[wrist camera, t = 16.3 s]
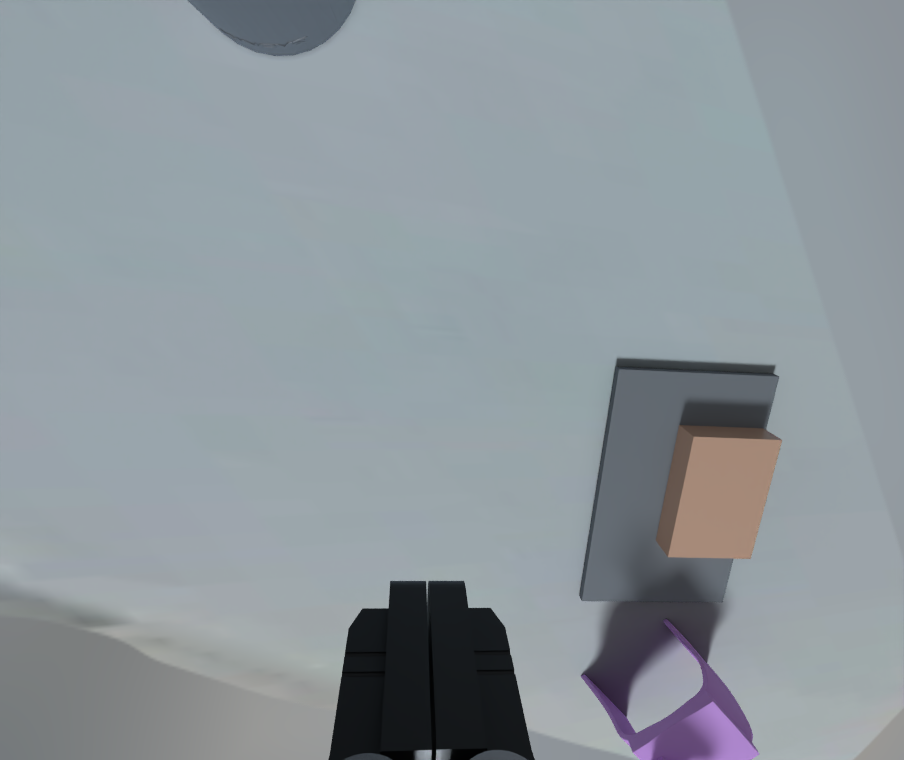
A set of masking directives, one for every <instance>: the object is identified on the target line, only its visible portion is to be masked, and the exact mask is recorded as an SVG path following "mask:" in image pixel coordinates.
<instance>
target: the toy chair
mask: <svg viewBox="0 0 904 760" xmlns="http://www.w3.org/2000/svg"><path fill="white" fill-rule="evenodd" d="M663 622H664V623H665V624H666V626H667V627H668V628H669V629H670V630H671V631H672V633H673V634H674V635H675V636H676V637H677V638H678V640H679V641H680V642H681V643H682V644H683V645H684V646H685V648H686V649H687V650H688V651H689V652H690V653H691V655H692V656H693V657H694V658H695V659H696V660H697V662H698V663H699V664H700V666H701V669H702V674H703V686H702V688H701V690H700V691H699V692H698V693H697V694H696V695H695V696H694V697H693V698H691V699H690V700H689V701H687V702H686V703H685V704H684V705H682V706H681V707H680V708H679V709H677V710H676V711H675V712H673V713H672V714H671V715H669V716H668V717H666V718H664V719H663V720H661V721H659V722H657V723H655V724H653V725H651V726H649V727H647V728H645V729H644V730H642V731H640V732H638V733H636V732H635V731H634V729H633V728H632V726H631V724H630V723H629V721H628V719H627V718H626V716H625V715H624V714H623V713H622V712H621V711H620V710H619V709H618V708H617V707H616V706H615V705H614V704H613V703H612V702H611V701H610V700H609V699H608V698H607V697H606V696H605V694H604V693H603V692H602V691H601V690H600V689H599V688H598V687H597V686H596V685H595V684H594V683H593V682H592V681H591V680H590V679H589V678H588V677H587V676H586V675H585V674H584V675H582V676H581V677H582V679H583V680H584V681H585V683H586V684H587V685H588V686H589V688H590V689H591V690H592V692H593V693H594V694H595V696H596V697H597V698H598V700H599V701H600V702H601V704H602V705H603V707H604V708H605V710H606V711H607V713H608V715H609V716H610V718H611V720H612V722H613V724H614V726H615V729H616V731H617V733H618V734H619V736H620V737H621V738H622V739H623V740H624V741H625V742H626V743H627V744H628V745H629V746H630V747H631V749H632V752H633V753H634V754H635V755H636V756H637V757H638V758H639V759H640V760H751V759H753V758H754V757H756V756H758V755H759V753H758V751H757V749H756V748H755V746H754V745H753V743H752V739H753V734H752V730H751V727H750V725H749V723H748V721H747V719H746V717H745V715H744V713H743V711H742V710H741V708H740V706H739V704H738V703H737V701H736V700H735V698H734V696H733V695H732V694H731V692H730V691H729V689H728V688H727V686H726V685H725V684H724V683H723V682H722V680H721V679H720V678H719V677H718V676H717V674H716V673H715V672H714V671H713V670H712V669H711V667H710V666H709V665H708V664H707V663H706V662H705V660H704V659H703V658H702V657H701V656H700V654H699V653H698V652H697V651H696V650H695V649H694V648H693V646H692V645H691V644H690V643H689V642H688V641H687V640H686V639H685V637H684V636H683V635H682V634H681V633H680V632H679V631H678V630H677V629H676V628H675V627H674V626H673V625H672V624H671V623H670V622H669V621H668V620H667V619H665V620H664V621H663Z"/></svg>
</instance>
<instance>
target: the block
mask: <svg viewBox="0 0 904 760" xmlns="http://www.w3.org/2000/svg"><path fill="white" fill-rule="evenodd" d="M781 442H782V440H781V439H780V438H778V437H776V436H775V435H773V434H771V433H770V432H768V431H767V430H765V429H763V428H741V427H716V426H691V425H679V429H678V434H677V438H676V443H675V448H674V453H673V458H672V463H671V468H670V473H669V478H668V483H667V487H666V492H665V497H664V502H663V507H662V512H661V517H660V522H659V527H658V532H657V537H656V542H657V543H658V544H659V546H660V547H661V548H662V550H663V551H664V552H665V554H666V555H667V557H682V558H734V559H751V555H752V552H753V548H754V544H755V540H756V537H757V533H758V529H759V525H760V521H761V518H762V514H763V510H764V506H765V503H766V499H767V495H768V491H769V488H770V484H771V480H772V476H773V472H774V469H775V465H776V461H777V457H778V454H779V450H780V446H781Z"/></svg>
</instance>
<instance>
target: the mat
mask: <svg viewBox="0 0 904 760" xmlns="http://www.w3.org/2000/svg"><path fill="white" fill-rule="evenodd" d="M778 379H779V376H777V375H775V374H761V373H740V372H718V371H696V370H674V369H652V368H631V367H616V369H615V375H614V381H613V387H612V394H611V400H610V406H609V413H608V419H607V425H606V432H605V438H604V444H603V450H602V457H601V463H600V469H599V476H598V482H597V488H596V495H595V501H594V507H593V513H592V520H591V526H590V532H589V539H588V545H587V551H586V558H585V564H584V570H583V577H582V583H581V589H580V595H579V596H580V598H581V600H582V601H636V602H723V598H724V594H725V590H726V586H727V582H728V579H729V575H730V571H731V567H732V563H733V559H734V558H682V557H667V555H666V554H665V552H664V551H663V550H662V548H661V547H660V546H659V544H658V543H657V542H656V537H657V532H658V527H659V522H660V517H661V512H662V507H663V502H664V497H665V492H666V487H667V483H668V478H669V473H670V468H671V463H672V458H673V453H674V448H675V443H676V438H677V434H678V429H679V425H691V426H716V427H741V428H763V429H765V430H766V427H767V423H768V419H769V415H770V411H771V407H772V403H773V399H774V395H775V391H776V387H777V383H778Z"/></svg>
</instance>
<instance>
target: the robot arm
mask: <svg viewBox="0 0 904 760" xmlns="http://www.w3.org/2000/svg"><path fill="white" fill-rule="evenodd" d="M188 1H189V2H190V3H191V4H192V5H193V6H194V7H195V8H196V9H197V10H198V11H199V12H200V13H201V14H202V15H204V16H205V17H206V18H207V19H208V20H209V21H210V22H211V23H212V24H213V25H214V26H215V27H216V28H217V29H218V30H220V31H221V32H222V33H223V34H225V35H226V36H227V37H229V38H230V39H232V40H233V41H234V42H236V43H237V44H239V45H241V46H244V47H246V48H248V49H250V50H253V51H255V52H259V53H263V54H268V55H273V56H284V55H296V54H299V53H303V52H306V51H310V50H312V49H314V48H315V47H317V46H319V45H321V44H323V43H324V42H326V41H327V40H328V39H329V38H330V37H331V36H333V35H334V34H335V33H336V32H337V31H338V30H339V29H340V28H341V26H342V25H343V23H344V22H345V20H346V19H347V17H348V16H349V14H350V13H351V10H352V8H353V5H354V3H355V0H188ZM329 760H535V759H534V757H533V753H532V750H531V745H530V741H529V736H528V731H527V727H526V722H525V718H524V713H523V708H522V704H521V699H520V694H519V690H518V685H517V680H516V676H515V674H514V667H513V662H512V657H511V655H510V648H509V643H508V639H507V634H506V629H505V627H504V625H503V624H502V623H501V621H500V620H499V619H498V617H497V616H496V615H495V613H494V612H493V611H492V609H491V608H468V603H467V595H466V588H465V583H464V581H429V582H428V597H427V594H426V581H390V596H389V609H362V610H361V612H360V613H359V614H358V616H357V617H356V619H355V620H354V622H353V623H352V625H351V626H350V628H349V631H348V637H347V644H346V650H345V657H344V664H343V670H342V677H341V684H340V690H339V697H338V704H337V710H336V717H335V724H334V730H333V737H332V744H331V751H330V756H329Z"/></svg>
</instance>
